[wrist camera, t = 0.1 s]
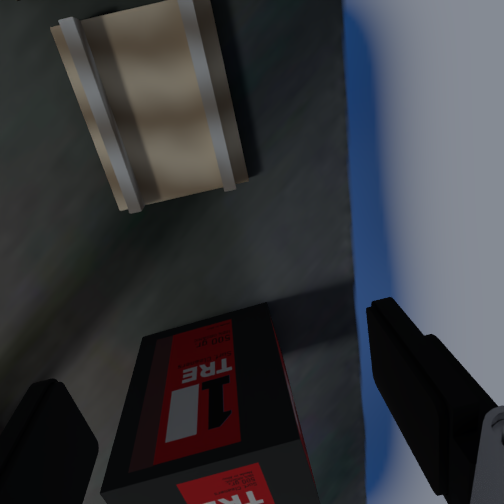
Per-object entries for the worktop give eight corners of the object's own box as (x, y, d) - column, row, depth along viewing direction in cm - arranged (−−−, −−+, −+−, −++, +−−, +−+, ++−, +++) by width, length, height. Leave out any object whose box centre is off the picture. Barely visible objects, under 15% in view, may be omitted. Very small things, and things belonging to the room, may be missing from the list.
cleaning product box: (167, 386, 51) (142, 552, 33) (142, 337, 48) (99, 493, 29) (282, 354, 51) (320, 504, 33) (266, 302, 47) (300, 439, 29)
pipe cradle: (55, 29, 33) (40, 24, 30) (208, -6, 33) (207, -15, 30) (122, 207, 40) (115, 217, 37) (247, 178, 40) (250, 185, 37)
